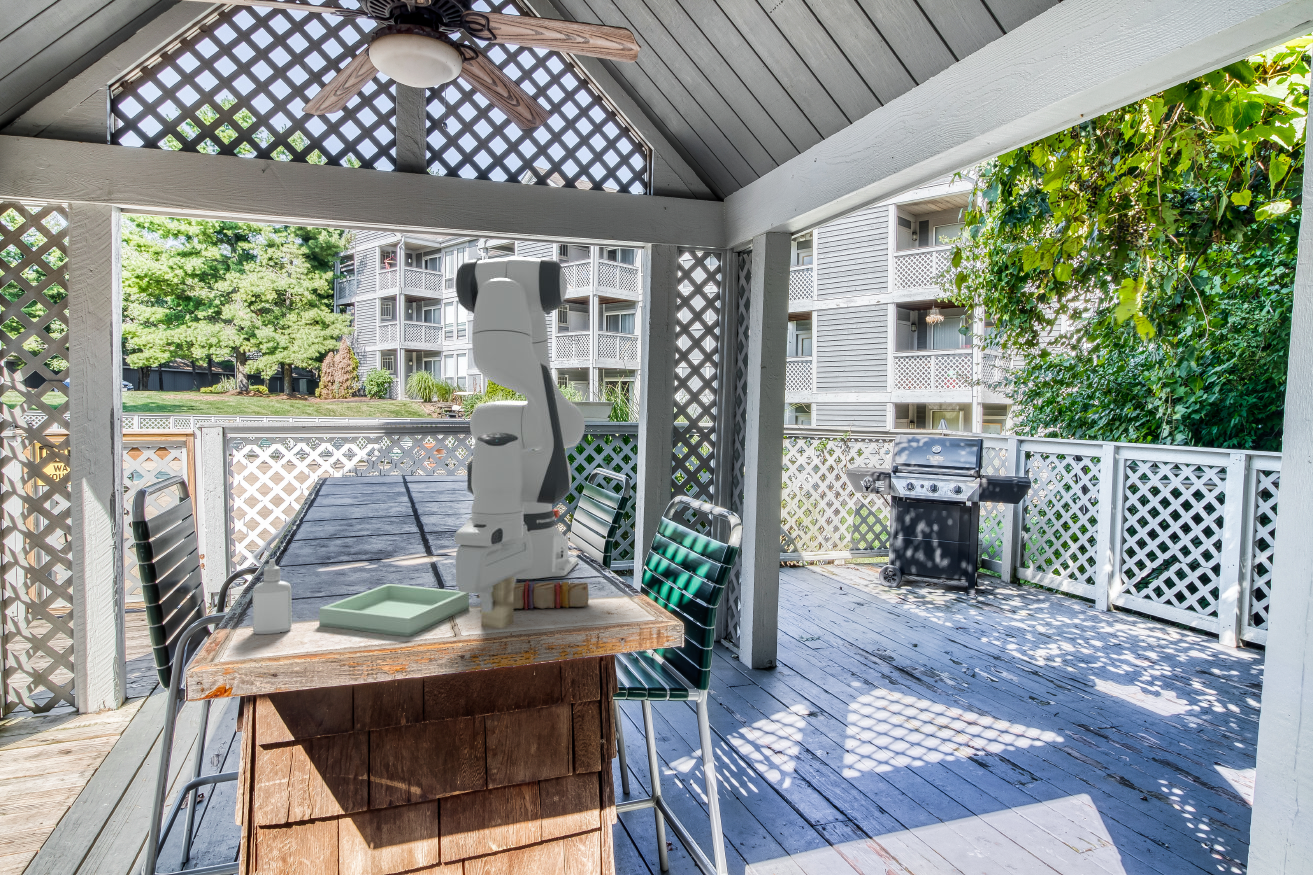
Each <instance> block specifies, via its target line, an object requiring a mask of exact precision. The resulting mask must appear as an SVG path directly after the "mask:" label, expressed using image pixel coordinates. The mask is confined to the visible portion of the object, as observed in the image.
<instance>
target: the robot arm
mask: <svg viewBox="0 0 1313 875" xmlns="http://www.w3.org/2000/svg"><path fill="white" fill-rule="evenodd" d="M454 282H455V284H454V287H455V288H454V289H455V293H456V295H457V299H458V303H459V304H460V305H461V307H463V308H464V309H465V310H466V311H468V312H471V313H472V314H473V318H472V319H473V320H472V331H471V332H472V333H471V334H472V336H471V337H472V340H471V345H472V346H471V347H472V357H473V363H474V365H475V367H476V368H477V370H478V371H479V373H480V374H481V375H482V376H484V377H485V378H486V379H487V380H489V381H491V382H492V383H494V384H496V385H498V386H501V387H503V388H506V389H509V390H511V391H514V392H516V393H518V394H520V395H522V396H525V399H526V400H496V401H495V400H494V401H489V402H484V403H480V404H478V405H477V406H476V407H475V409H474V410H473V412H472V414H471V416H470V420H469V429H470V434H471V437H472V438H473V439H474V441H475V443H474V448H473V455H472V459H470V461H469V462H468V463H467V467H466V469H467V475H466V476H467V478H466V479H467V485H466V487H467V489H466V490H467V491H468V492H469V493H470V494H471V495H472V496H473V502H472V505H471V509H470V510H471V513H470V514H471V517H469V518H468V519H467V521H466V522H465V523H464V524H463V525H462V526H461V527H460V528H459V529H457V530H456V532H455V533H454V544H456V545H459V546H458V548H457V549H456V555H455V582H456V583H455V584H456V587H457V589H458V591H461V592H466V593H469V594H477V595H479V597H480V598H479V599H480V601H482V611H484V612H490V611H492V610H494V609H495V600H493V599H492V595H491V592H492V591H493V586H494V585H496V584H498V583H500V582H501V581H504V580H506V579H508V578H510V577H513V589H514V586H515V583H517V580H533V579H534V580H535V579H542V578H550V577H564V576H566V575H568V573H570V572H571V570H572V569H573V568H575V566H576V565H577V564H578V563H579V559H578V558H576V557H573V556H569V540H568V539H567V537H566V536H564V534H563V533H562V532H561V531H560V530H559V529H558V528H557V527H556V524H557V523H556V522H557V521H556V519H558V518H560V512H561V511H560V510H559V509H552V508H553V505H555V504H557V503H558V502H560V501H562V500H563V499H564V498H565V497H566V496H567V495H569V493H570V490H571V487H572V482H573V480H572V475H573V474H572V469H571V465H570V461H569V459H568V456H567V453H566V450H565V449H569V448H574V447H576V446H577V445H578V444H580V441H581V440H582V439H583V437H584V433H585V429H586V424H585V423H586V421H585V418H584V415H583V413H582V410H580V408H579V407H578V406H577V405H576V404H575V403H574V402H571V401H570V400H569V399H568V398H567V397H566V396H565V395H564V394H563V393H562V391H561V390H560V388H559V387H558V385H557V384H556V382H555V379H554V377H553V373H552V369H551V363H550V352H549V338H548V337H549V334H548V326H547V318H546V315H547V316H548V315H550V314H551V312H554V311H556V310H558V309H559V308H560V307H562V305H563V304H564V301H565V298H566V295H567V291H568V290H567V289H568V282H567V277H566V274H565V271H564V270H563V266H562V265H561V264H560V263H559V262H558V261H557V260H554V259H550V258H545V257H541V259H540V258H534V257H522V256H521V257H520V256H510V257H506V258H505V257H503V258H502V257H501V258H491V259H484V260H483V259H482V260H480V259H478V258H477V259H471V260H468V261H465V262H463V263H462V264H461V265H460V266H459V267H458V269H457V271H456V276H455V281H454Z"/></svg>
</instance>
